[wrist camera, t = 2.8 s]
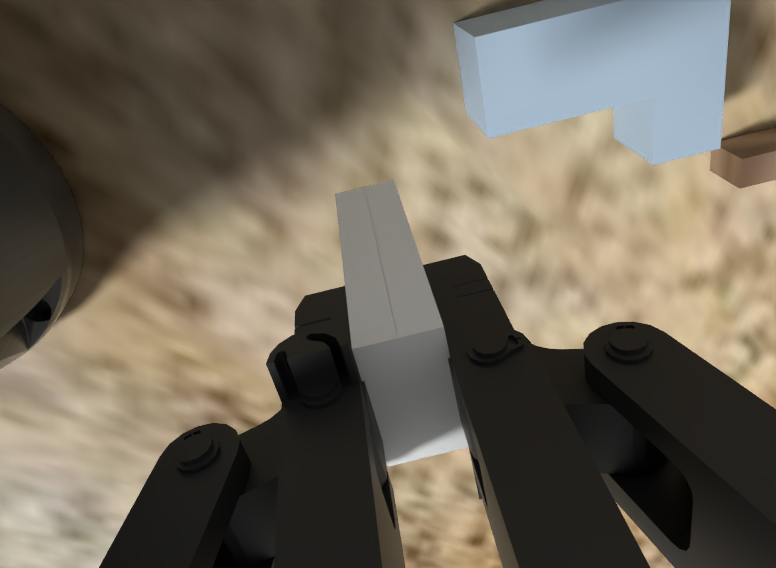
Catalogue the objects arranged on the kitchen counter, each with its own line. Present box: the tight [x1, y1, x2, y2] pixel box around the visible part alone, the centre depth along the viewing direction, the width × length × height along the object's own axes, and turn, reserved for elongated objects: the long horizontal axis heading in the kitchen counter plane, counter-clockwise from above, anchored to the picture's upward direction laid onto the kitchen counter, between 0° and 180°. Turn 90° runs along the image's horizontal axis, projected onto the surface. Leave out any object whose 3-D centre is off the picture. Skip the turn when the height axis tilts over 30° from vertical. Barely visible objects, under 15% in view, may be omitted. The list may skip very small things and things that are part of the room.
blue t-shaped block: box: [453, 0, 731, 165], centre depth 26 cm, size 10×10×4 cm
